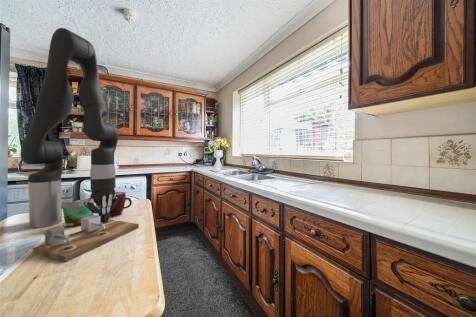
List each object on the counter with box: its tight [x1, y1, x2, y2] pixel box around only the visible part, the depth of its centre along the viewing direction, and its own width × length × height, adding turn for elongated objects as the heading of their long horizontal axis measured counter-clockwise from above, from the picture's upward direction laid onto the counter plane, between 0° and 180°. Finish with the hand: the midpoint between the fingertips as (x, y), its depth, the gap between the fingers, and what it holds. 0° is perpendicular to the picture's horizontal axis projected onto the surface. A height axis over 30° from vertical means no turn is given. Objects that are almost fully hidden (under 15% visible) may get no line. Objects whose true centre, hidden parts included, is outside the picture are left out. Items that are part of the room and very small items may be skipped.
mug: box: [109, 191, 133, 217], centre depth 88 cm, size 10×8×10 cm
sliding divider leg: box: [80, 214, 105, 232], centre depth 65 cm, size 8×4×4 cm, turn 72°
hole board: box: [32, 219, 140, 263], centre depth 64 cm, size 14×24×6 cm, turn 162°
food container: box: [61, 197, 96, 228], centre depth 77 cm, size 12×6×10 cm, turn 168°
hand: (103, 223), depth 71 cm, fingers closed
